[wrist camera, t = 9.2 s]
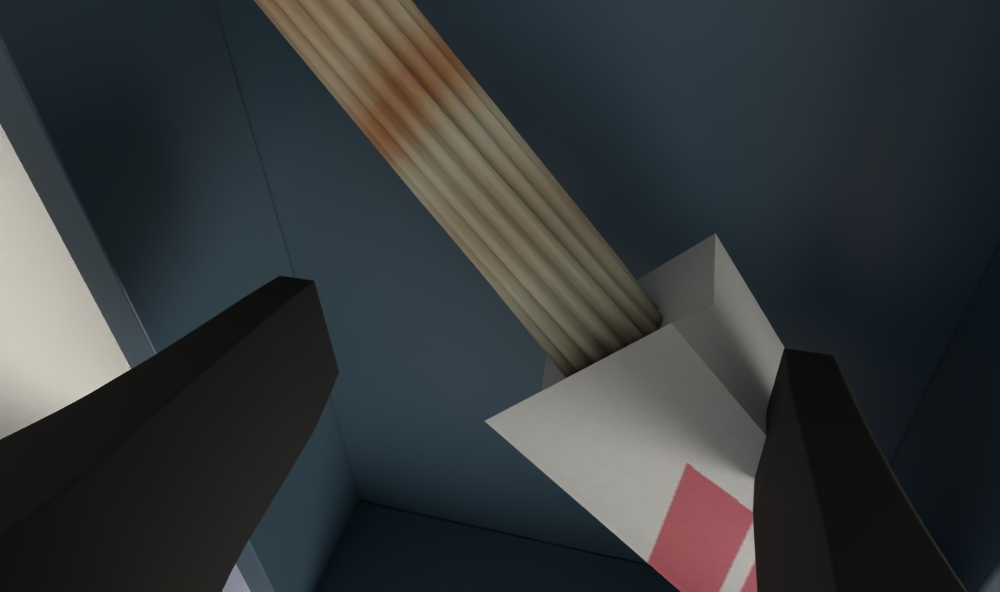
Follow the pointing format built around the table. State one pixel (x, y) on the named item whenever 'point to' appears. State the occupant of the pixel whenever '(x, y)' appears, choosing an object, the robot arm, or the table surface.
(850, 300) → the tub
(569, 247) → the paintbrush
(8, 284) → the table surface
